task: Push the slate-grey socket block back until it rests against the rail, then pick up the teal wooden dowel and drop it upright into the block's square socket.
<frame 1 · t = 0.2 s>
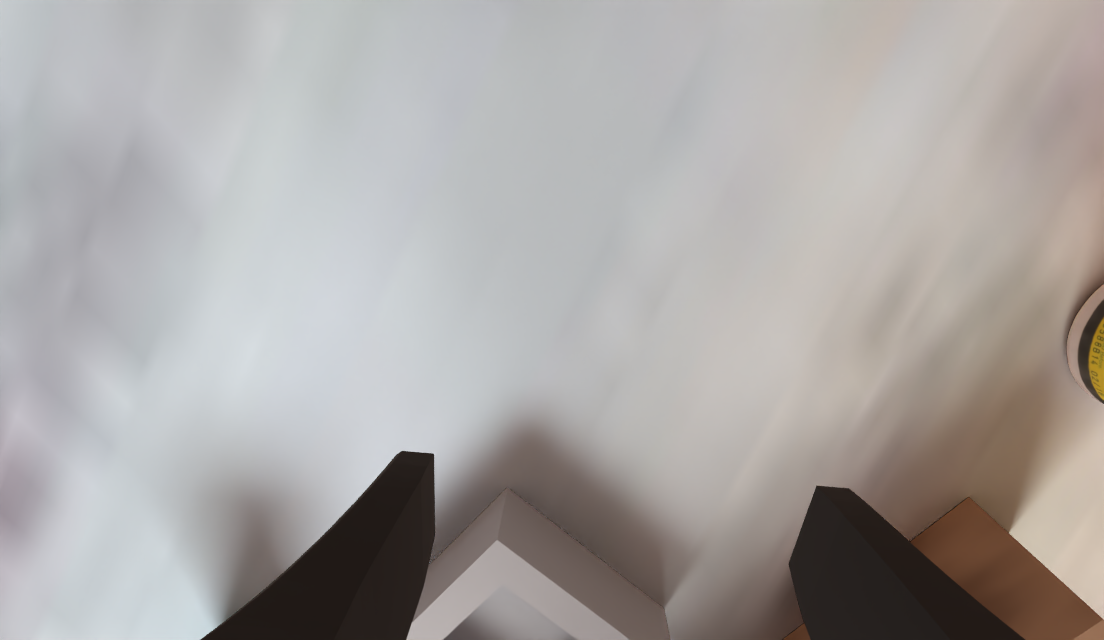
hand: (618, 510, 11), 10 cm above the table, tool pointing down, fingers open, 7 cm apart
socket block: (520, 606, 25), on the table
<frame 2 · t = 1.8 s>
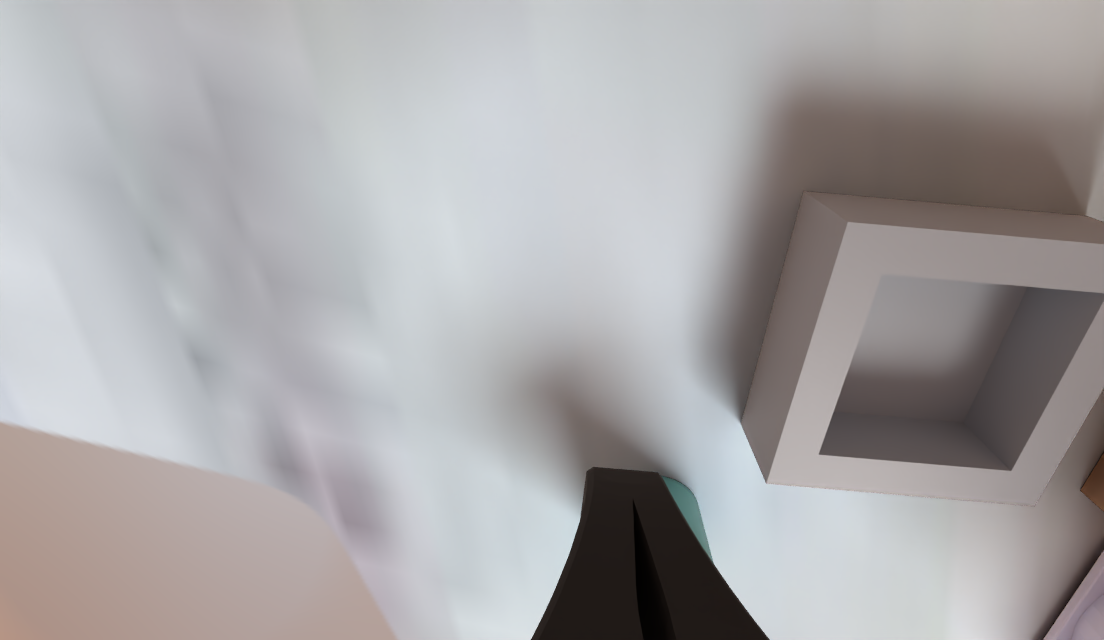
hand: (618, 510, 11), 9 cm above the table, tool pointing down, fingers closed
socket block: (892, 325, 20), on the table
dowel: (648, 514, 24), on the table
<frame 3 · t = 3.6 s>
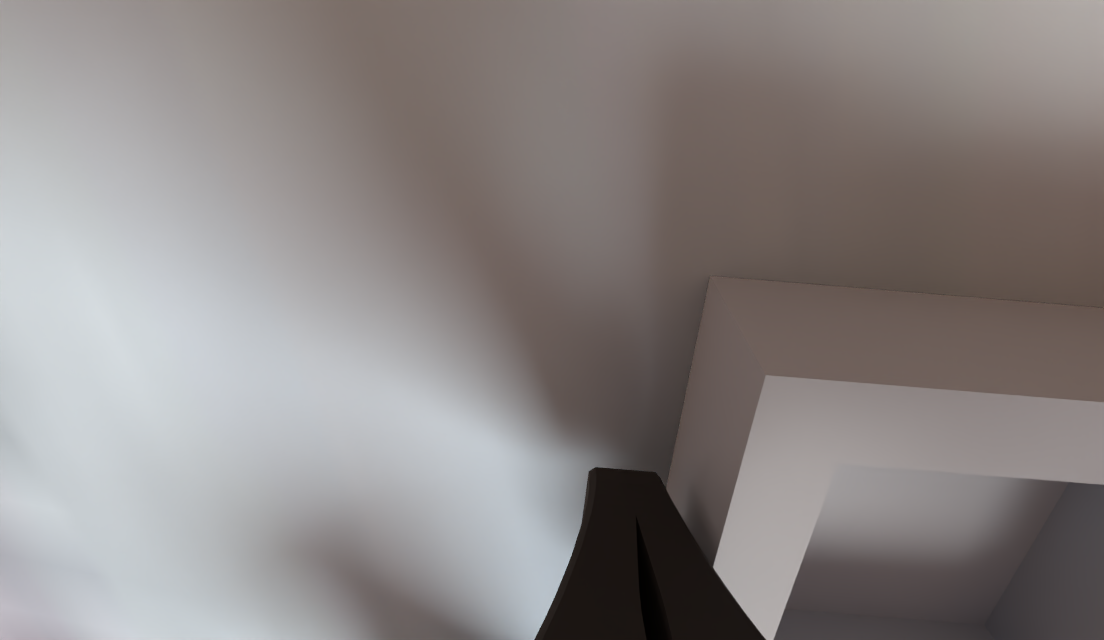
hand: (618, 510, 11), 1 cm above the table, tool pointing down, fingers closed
socket block: (871, 477, 13), on the table, touching gripper
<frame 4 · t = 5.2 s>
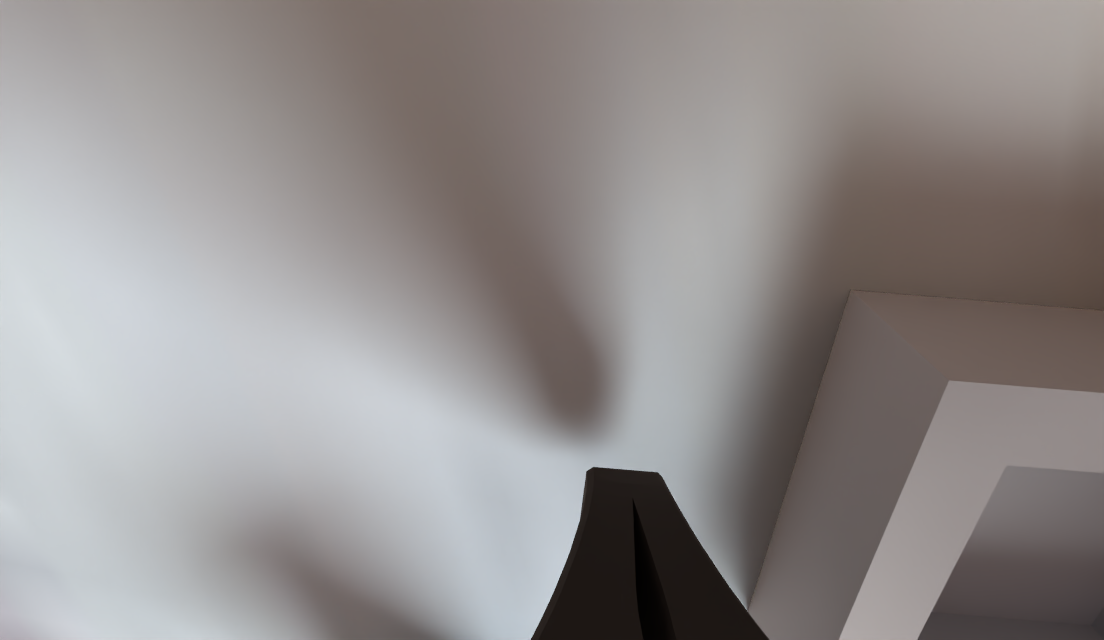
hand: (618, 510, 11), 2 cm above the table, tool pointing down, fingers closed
socket block: (982, 480, 13), on the table
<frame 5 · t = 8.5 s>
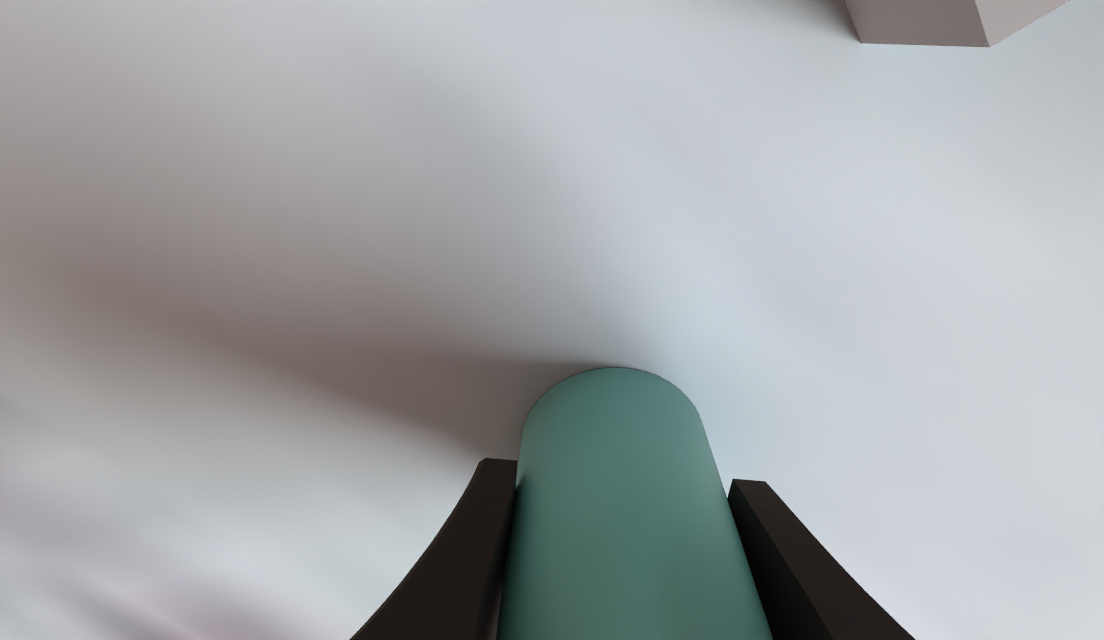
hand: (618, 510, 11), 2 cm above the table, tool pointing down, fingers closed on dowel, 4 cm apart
dowel: (612, 446, 13), on the table, touching gripper
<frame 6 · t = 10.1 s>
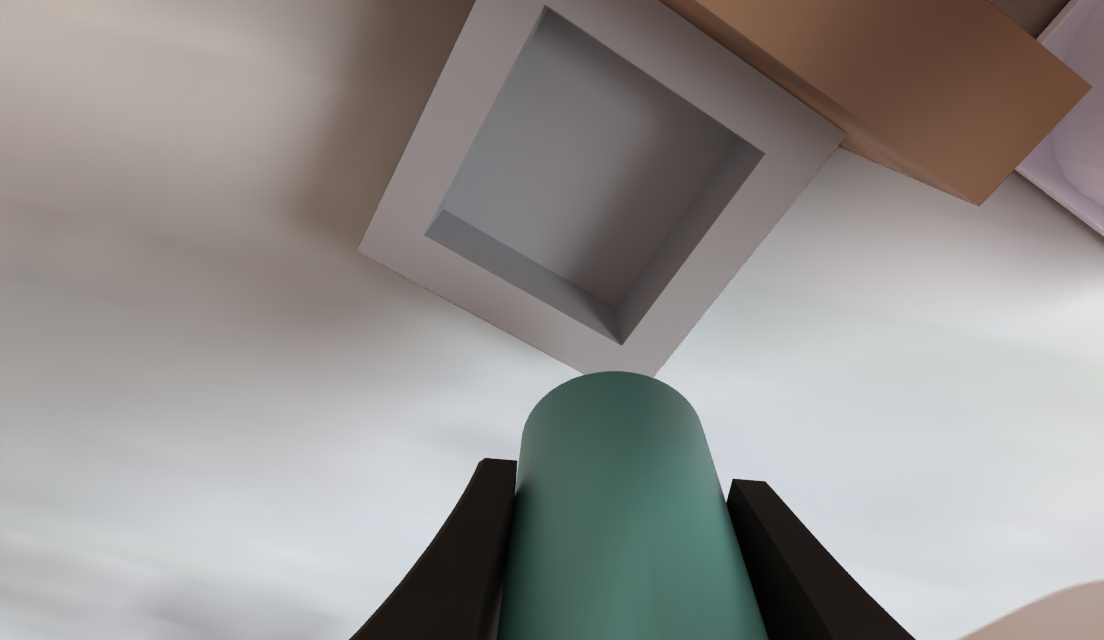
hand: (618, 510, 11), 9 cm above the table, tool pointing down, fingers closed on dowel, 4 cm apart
socket block: (585, 167, 17), on the table
dowel: (612, 448, 13), point 7 cm above the table, touching gripper
when the fingers open (4 cm above the table, at t = 11.7 s): dowel drops 2 cm, resting on socket block.
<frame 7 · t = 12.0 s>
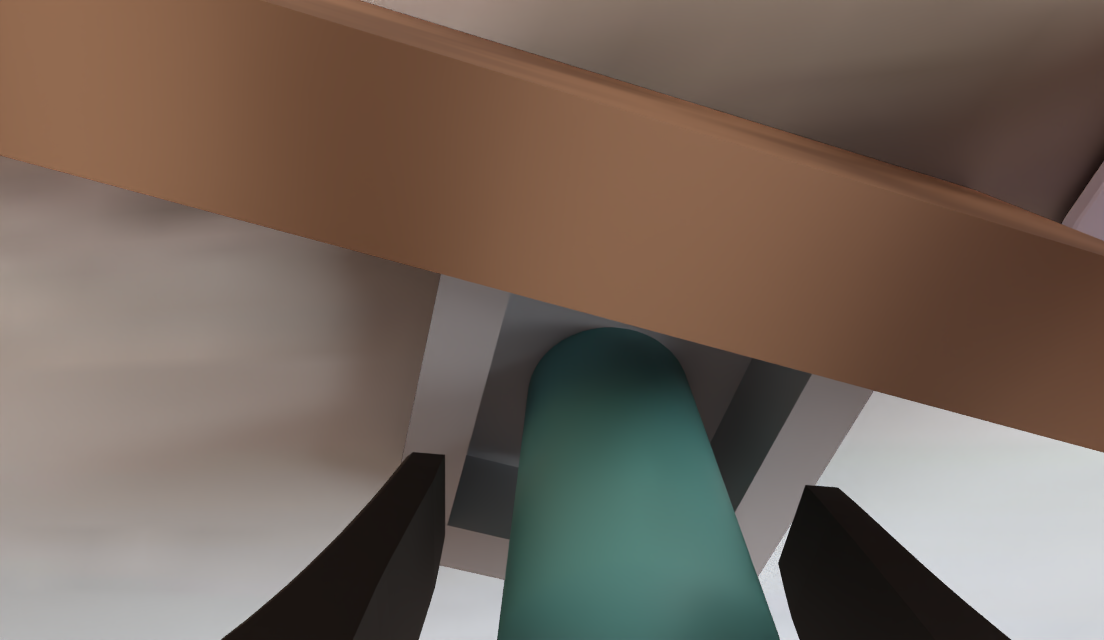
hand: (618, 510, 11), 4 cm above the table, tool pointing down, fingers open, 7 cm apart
socket block: (606, 369, 16), on the table, touching dowel
rail: (462, 100, 12), on the table
dowel: (607, 399, 15), point 1 cm above the table, touching socket block
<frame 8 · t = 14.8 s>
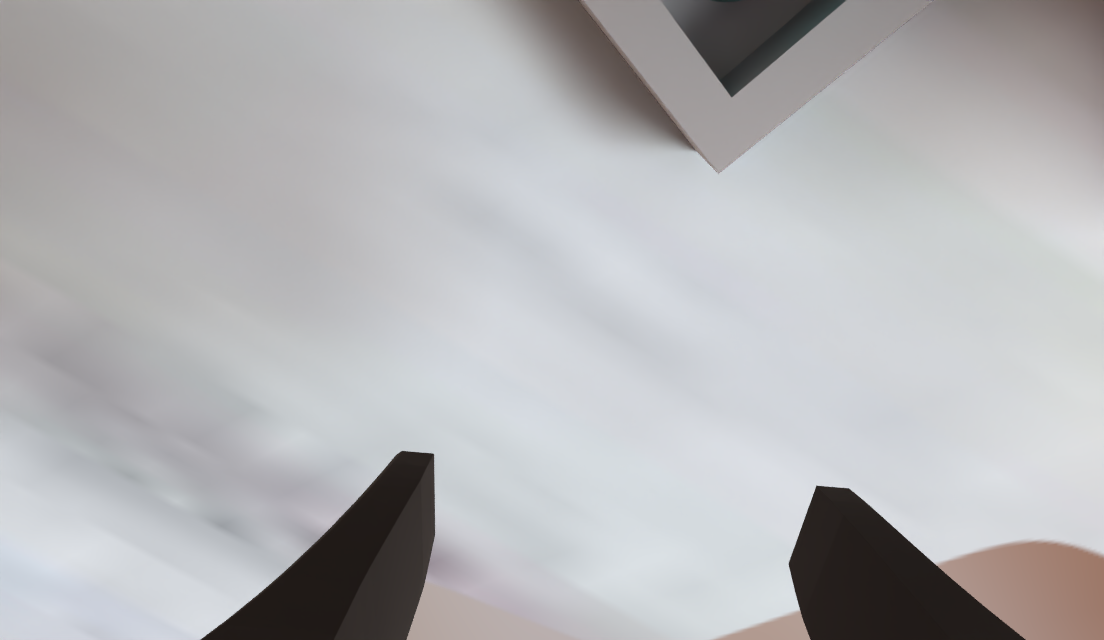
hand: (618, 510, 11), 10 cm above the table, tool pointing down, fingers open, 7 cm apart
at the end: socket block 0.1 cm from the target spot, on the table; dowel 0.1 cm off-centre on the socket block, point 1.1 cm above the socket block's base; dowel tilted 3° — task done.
